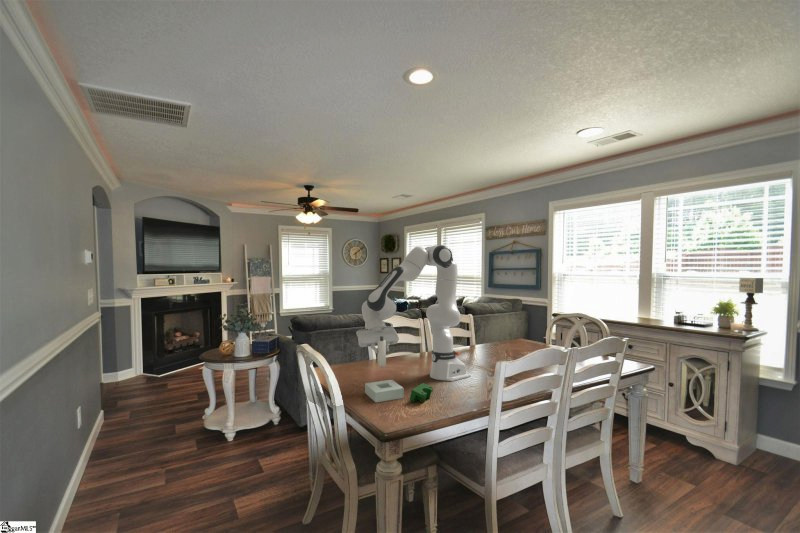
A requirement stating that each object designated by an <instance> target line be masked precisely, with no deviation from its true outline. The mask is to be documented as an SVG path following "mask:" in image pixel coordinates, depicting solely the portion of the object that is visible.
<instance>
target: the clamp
mask: <svg viewBox="0 0 800 533" xmlns="http://www.w3.org/2000/svg"><path fill="white" fill-rule="evenodd" d="M433 391H434V387H433V386H431V385H429V384H427V383H425V382H422V383H421V384H419V385H417V386H416V387H414V388H413V389H411V392H410V396H409V401H411V402H413V403H416V402H417V401H419V402H421V403H423V404H424V403H425V402H426V399H428V400H430V399H431V395H432V392H433Z"/></svg>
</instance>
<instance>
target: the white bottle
mask: <svg viewBox="0 0 800 533" xmlns="http://www.w3.org/2000/svg"><path fill="white" fill-rule="evenodd" d="M386 347H387V346H386V340H383V336H380V340H378V346H377V348H378V350H379V352H378V353H377V366H378V367H380V368H381V367H386V366H387V352H386Z"/></svg>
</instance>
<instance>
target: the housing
mask: <svg viewBox="0 0 800 533" xmlns="http://www.w3.org/2000/svg"><path fill="white" fill-rule="evenodd" d="M364 393H365V394H366V395H367V397H368V398H370V399H371V400H372V401H373V402H374V403H376V404H377V403H380V402H381V403H382V402H388V401H393V400H399V399H400V400H401V399H404V398H405V389H404V387H403V386H402V385H400V384H399V383H397V382H396V381H395V380H394V379H387V380H379V381H371V382H365V383H364Z"/></svg>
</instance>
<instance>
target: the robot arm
mask: <svg viewBox="0 0 800 533" xmlns="http://www.w3.org/2000/svg"><path fill="white" fill-rule="evenodd" d="M426 266H433V267H435V268H436V270H437V276H436V284H435V292H434V293H435V296H436V298H437V303H435V304H431V305H429V306H428V307H427V309H426V311H425V312H426V313H425V315H426V318H427V320H428V322H429V325H430V330H431V335H432V336H431V337H432V350H431V368H430V374H429V377H430V378H431V379H432V380H433V379H434V380H437V381H448V382H455V381H458V380H462V379H466V378H470V377H471V373H470V372H469V371H467V366H466V364H465V363H464V362H463V361H462V360H460V359H459V358H458V357H456V356H460V351H455V350H454V336H453V334H452V332H451V329H450V328H454V327H457V326H459V324H460V323H461V319H462V315H461V313H460V311H459V309H458V308H459V307H458V305H457V294H456V293H457V285H458V284H457V283H458V264H457V262H456V261H454V258H453V251H452V250H451V248H450V247H449V246H446V245H443V244H440V245H438V244H435V245H432V246H426V247H425V248H424V247H422V246H414V247H413V248H412V249H411V250H410V252H408V254H407V255H406V256H405V257H404V259H403V261H402V262H401V263H400V264H399V265H398V266H397V265H396V266H395V267H394V268H392V269H391V271H389V273H388V274H387V275H386V276H385V277H384V278H383V280H382V281H381V282H380V283H379V285H378V286H377V287H375V289H373V290H372V291H371V292H370V293H369V294H368V295H367V298H366V300H365V301H364V302H363V303H362V306H361V314H362V319H363V321H364V323H365V324H364V326H365V328H363V329H358V330H357V331H356V332H355V333H356V337H357V341H358V342H357V343H358V346H359V347H360V348H366V347H367V348H368V347H370V348H371V349H372V351H373V352H374V354H378V352H379V350H378V340H380V336H383V340H386V353H389V352H390V345H396V344H398V343H399V340H400V338H399V335H398V333H397V331H396V329H395V328H394V325H393V323H391V322H387V321H384V320H387V319H391V318H392V317H393V316H395V314H396V312H397V303H395V302H394V301H393V300H392V299H391V298H390V297H388V294H389V292H390V291H391V290H392V289H393V288H394V286H396V284H397V283H398V282H400V281H401V282H402V281H403V282H413V281H415V280H416V279H417V278H418V277H419V276H420V274H421V273H422V271H423V270H424V268H425V267H426Z"/></svg>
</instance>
